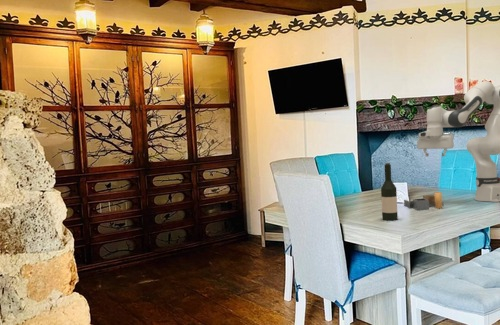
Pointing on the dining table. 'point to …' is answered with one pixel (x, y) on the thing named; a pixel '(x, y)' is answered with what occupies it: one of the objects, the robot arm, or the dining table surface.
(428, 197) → the crate
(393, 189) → the wine bottle
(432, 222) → the dining table surface
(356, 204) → the dining table surface
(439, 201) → the round peg
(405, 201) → the bay
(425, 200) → the square tube sleeve
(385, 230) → the dining table surface
